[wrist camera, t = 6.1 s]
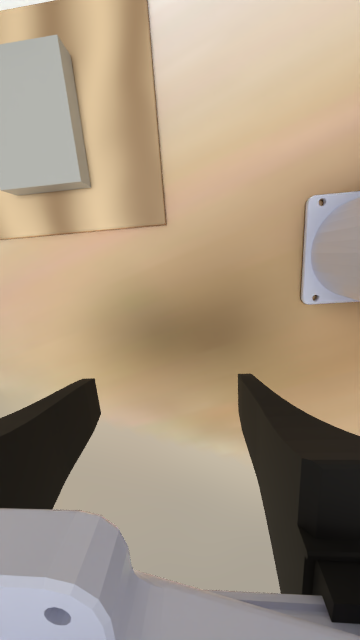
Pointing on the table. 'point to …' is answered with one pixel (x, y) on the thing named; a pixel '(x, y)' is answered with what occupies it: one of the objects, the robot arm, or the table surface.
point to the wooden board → (97, 119)
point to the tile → (39, 119)
